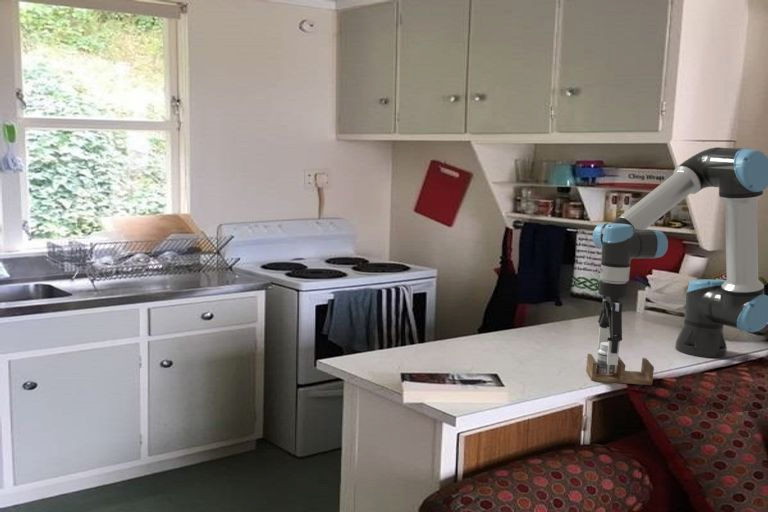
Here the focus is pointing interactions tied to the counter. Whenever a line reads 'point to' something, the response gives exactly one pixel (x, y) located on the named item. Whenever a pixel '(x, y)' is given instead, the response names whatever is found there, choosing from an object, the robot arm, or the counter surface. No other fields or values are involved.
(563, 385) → the counter surface
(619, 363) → the rack
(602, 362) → the pill bottle
